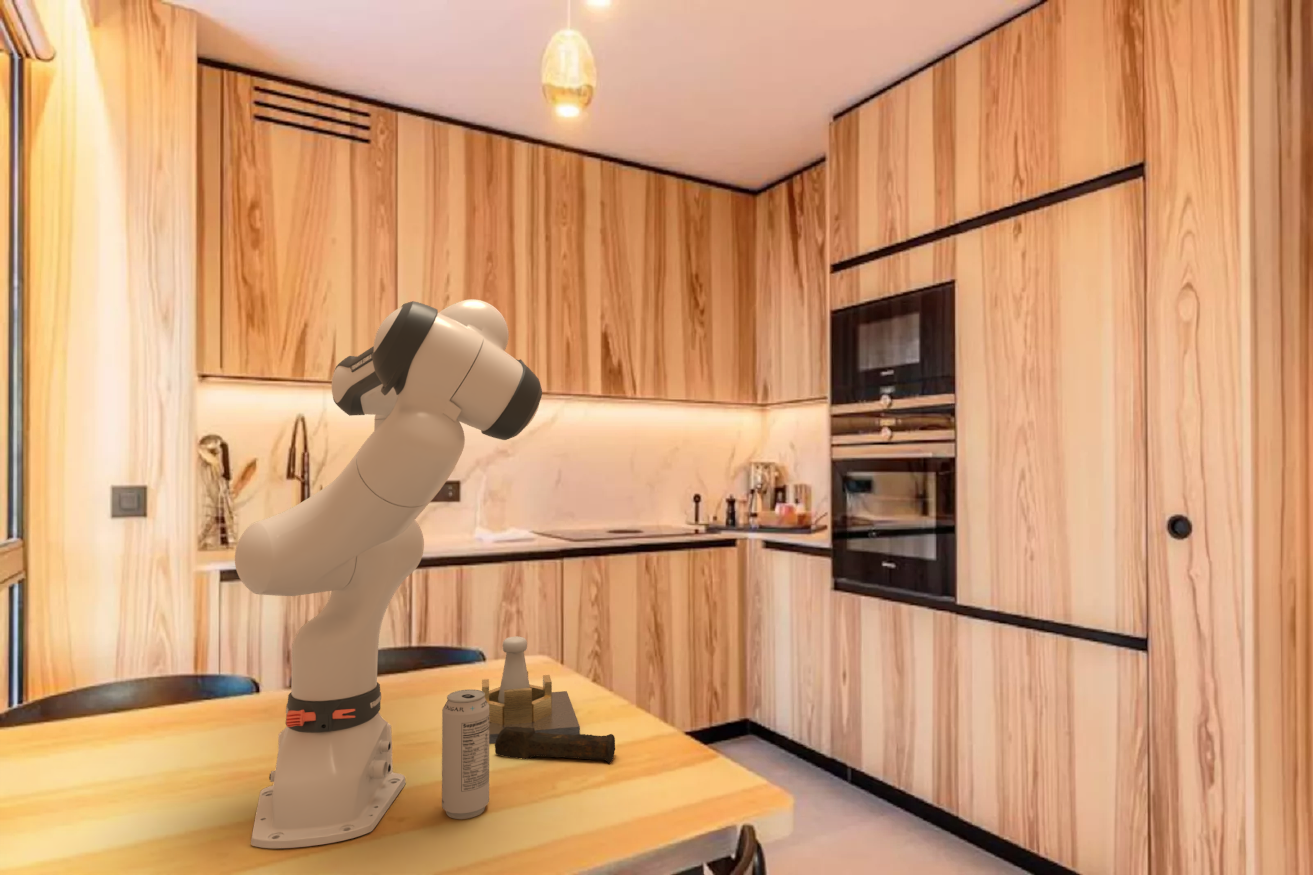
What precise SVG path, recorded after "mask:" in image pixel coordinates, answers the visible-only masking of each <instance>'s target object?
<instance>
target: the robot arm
mask: <svg viewBox="0 0 1313 875" xmlns="http://www.w3.org/2000/svg"><path fill="white" fill-rule="evenodd" d="M509 332H510V331H509V328H508V324H507V321H506V319H505V317H504V316H503V314H502V312H500V311H499V310H498V309H497V308H496V307H495V306H493V305H492V304H490V303H489V302H487V301H484V300H480V299H475V298H474V299H473V298H472V299H470V298H469V299H464V300H460V301H458V302H457V301H456V302H455V303H453V304H451V305H448V306H446V308H444V309H441V311H439V312H438V309H437V308H434V307H433V306H431V305H427V304H425V303H422V302H418V301H414V300H413V301H409V302H408V301H407V302H406V303H405V302H404V303H403V304H402V305H401V306H400V307H399V308H396V309H395V310H393V311H392V312H390V314H388V315H387V316H386V317H385V319H384V320H383V321H382V322H381V324H380V325H379V327H378V328H377V330H376V333H375V335H374V336H375V337H374V341H373V346H371V347H370V348H368V349H367V350H365V351H363V352H362V353H361V354H359V355H358V356H357V355H356V356H355V355H349V356H347V357H345V358H344V359H343V360H341V361H340V362H339V363H338V364H337V365H336V367H335V368H334V371H333V374H332V378H331V394H332V399H333V402H334V403H335V405H336V406H337V407H338V408H339V409H340V410H342V412H344V413H345V414H347V415H348V416H349V417H350V416H351V417H352V416H365V415H370V416H371V415H374V426H373V427H374V431H373V432H372V433H371V434H370V435H369V436H368V438H367V439H366V440H365V441H364V443H363V444H362V445H361V446H360V448H359V449H358V451H357V452H356V453H355V455H354V456H353V457H352V458H351V460H350V461H349V462H348V464H347V465H346V467H344V469H343V470H342V471H341V472H340V473H339V475H338V476H337V477H336V478H335V479H334V480H332V482H330V483H329V484H328V485H327V486H325V487H323V488H322V489H320V490H318V491H317V492H316V493H314V494H312V495H311V496H309V497H308V498H306V499H304V500H303V501H302V502H300V503H298V504H296V505H294V506H292V507H290V508H289V509H286V510H284V511H282V512H280V513H278V514H275V515H272V516H268V517H267V518H263V519H261V520H258V521H255V522H253V523H251V524H249V526H247V528H246V529H245V530H244V531H243V533H242V535H241V536H240V538H239V540H238V541H237V545H236V548H235V553H234V565H235V570H236V573H237V575H238V578H239V580H240V581H241V583H242V584H243V585H244V586H245V588H247V589H248V590H249V591H250V592H251V593H253V594H255V595H261V596H262V595H263V596H275V597H278V596H280V597H297V596H304V595H311V594H319V593H324V592H330V594H329V598H328V600H327V602H326V604H325V605H324V607H323V608H322V610H321V611H320V612H319V613H318V614H316V616H314V617H313V618H311V619H310V620H308V621H307V622H305V623H304V624H303V625H302V626H301V627H300V628H299V629H298V630H297V633H296V634H295V636H294V637H293V640H292V643H291V684H290V685H291V688H290V689H291V690H290V693H289V694H288V695H287V703H286V706H285V708H286V709H285V713H286V715H285V716H286V718H285V725H286V727H285V728H284V729H283V730H281V732H279V733H278V751H277V752H278V753H277V757H276V765H275V769H274V770H271V771H270V773H269V776H268V777H269V781H270V782H271V783H273V785H269V786H267V787H264V788H263V789H261V790H260V792H259V797H258V803H257V808H256V810H255V812H256V813H255V817H254V822H253V828H252V833H251V840H250V845H252V847H257V848H263V849H292V848H304V847H312V846H318V845H319V846H320V845H327V844H333V843H337V842H343V841H347V840H350V839H354V838H357V837H361V836H364V835H366V834H369V833H371V832H372V831H373V830H374V829H375V828H376V826H377V825H378V824H379V822H380V821H381V819H382V818H383V816H384V815H385V814H386V812H387V811H388V810H389V808H390V807H391V805H392V804H393V802H394V800H396V798H397V797H398V795H399V794H400V792H401V791H402V790H403V789H404V786H405V785H406V776H405V775H404V774H402V773H398V772H394V771H393V770H394V769H393V767H394V766H393V741H392V740H393V739H392V725H391V724H390V723H389V722H388V721H386V720H385V719H384V718H383V716H382V715H381V714H380V710H381V700H382V692H381V684H380V683H379V682H378V658H379V645H380V644H379V643H380V633H381V628H382V624H383V620H384V617H385V614H386V612H387V609H388V607H389V604H390V602H391V601H392V599H393V596H394V595H395V593H396V591H397V590H398V589H399V587H400V586H401V585H402V584H403V582H404V581H405V580H406V579H408V577H409V576H410V575H411V574H413V572H414V571H415V570H416V569H417V568H418V566H419V565H420V563H421V561H422V558H423V556H424V555H423V554H424V551H425V550H424V549H425V538H424V535H423V532H422V528H421V526H419V523H418V522H417V521H416V519H417V518H419V516H420V515H421V514H422V512H423V511H424V510H425V508H427V506H428V505H429V504H430V503H431V502H432V501H433V500H434V498H435V497H436V496H437V495H438V493H439V492H440V491H441V489H442V488H443V487H444V486H445V484H446V483H447V481H448V479H449V478H450V476H451V475H452V473H453V472H454V470H455V468H456V466H457V464H458V462H459V460H460V457H461V456H462V453H463V451H464V448H465V443H466V442H465V441H466V439H465V438H466V437H465V433H464V428H463V426H462V424H464V425H467V426H469V427H472V428H474V429H476V430H480V432H481V434H482V435H484V436H487V437H491V438H494V439H497V440H502V441H507V440H510V439H511V438H515V437H517V436H518V435H519V434H520V433H521V432H522V431H523V430H524V429H526V427H528V425H529V424H530V423H531V422H532V421H533V420H534V418H535V417H536V414H537V412H538V409H539V407H540V403H541V400H542V396H543V390H542V386H541V381H540V379H539V378H538V377H537V375H536V374H535V373H534V372H533V371H532V370H531V369H530V367H529V366H527V364H525V362H524V361H523V360H522V359H517V358H515V357H513V356H512V355H511V354H509V353H508V352H506V349H507V347H508V343H509V336H510V335H509ZM461 423H462V424H461Z"/></svg>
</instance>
